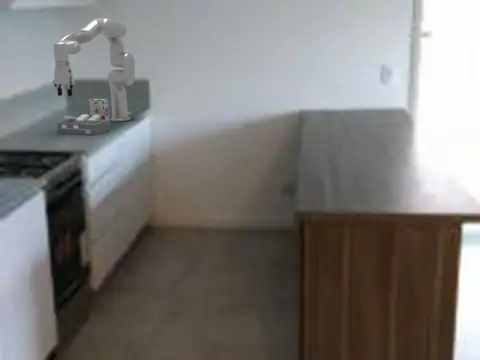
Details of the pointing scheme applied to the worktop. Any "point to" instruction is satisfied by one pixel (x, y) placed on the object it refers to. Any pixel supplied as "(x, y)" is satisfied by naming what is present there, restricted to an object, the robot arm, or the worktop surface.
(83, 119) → the rocker ivory
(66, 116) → the rocker grey
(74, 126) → the console
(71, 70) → the robot arm
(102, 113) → the candy bar box
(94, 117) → the rocker sage
